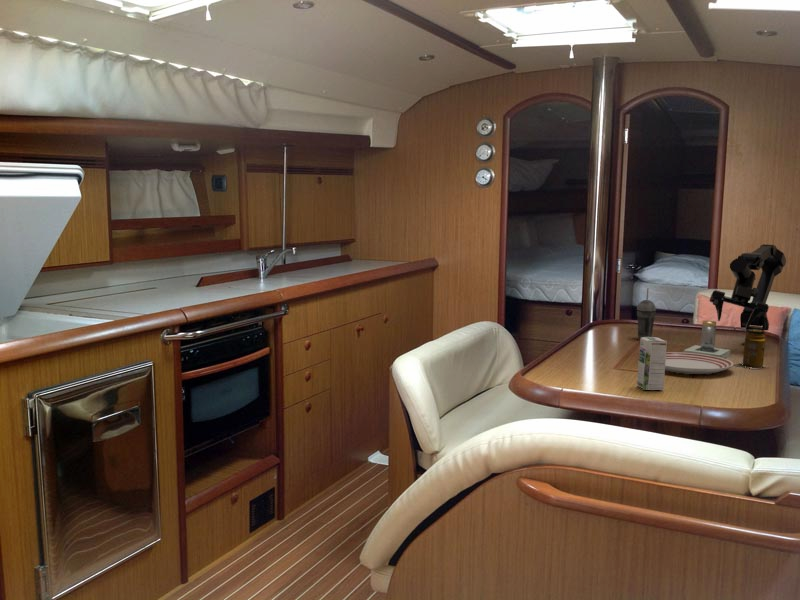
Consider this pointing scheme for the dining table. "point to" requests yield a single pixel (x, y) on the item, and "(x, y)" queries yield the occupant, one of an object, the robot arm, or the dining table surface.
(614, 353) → the dining table surface
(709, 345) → the jar with gold lid
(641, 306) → the beverage cup
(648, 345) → the syrup box
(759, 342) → the condiment
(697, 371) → the dinner plate
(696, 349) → the white flat square frame
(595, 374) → the dining table surface
